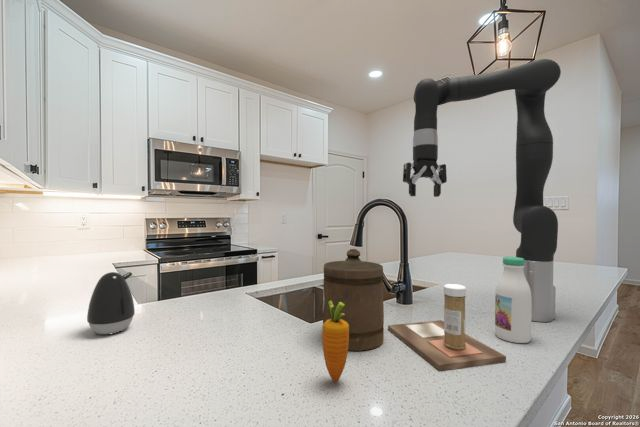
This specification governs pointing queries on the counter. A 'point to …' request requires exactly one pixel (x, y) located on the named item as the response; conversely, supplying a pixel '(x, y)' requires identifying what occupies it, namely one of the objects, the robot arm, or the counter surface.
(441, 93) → the robot arm
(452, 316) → the sprinkles bottle
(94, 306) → the pump dispenser
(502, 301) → the milk bottle
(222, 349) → the counter surface
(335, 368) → the carrot
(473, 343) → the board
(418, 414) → the counter surface
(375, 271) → the wooden container
